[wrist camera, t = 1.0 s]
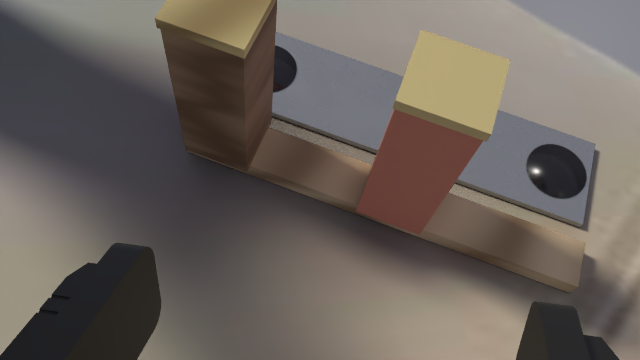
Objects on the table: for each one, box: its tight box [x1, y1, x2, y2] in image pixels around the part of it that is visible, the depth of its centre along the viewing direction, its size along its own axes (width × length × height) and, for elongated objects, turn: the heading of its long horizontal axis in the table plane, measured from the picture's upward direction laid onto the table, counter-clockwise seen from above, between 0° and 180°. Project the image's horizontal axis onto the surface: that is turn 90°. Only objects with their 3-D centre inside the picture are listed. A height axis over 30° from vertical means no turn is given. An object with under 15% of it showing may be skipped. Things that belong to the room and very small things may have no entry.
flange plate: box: [272, 32, 595, 227], centre depth 39 cm, size 25×6×1 cm, turn 70°
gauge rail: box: [155, 0, 585, 293], centre depth 31 cm, size 25×4×13 cm, turn 70°
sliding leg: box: [356, 30, 511, 235], centre depth 30 cm, size 4×4×12 cm
